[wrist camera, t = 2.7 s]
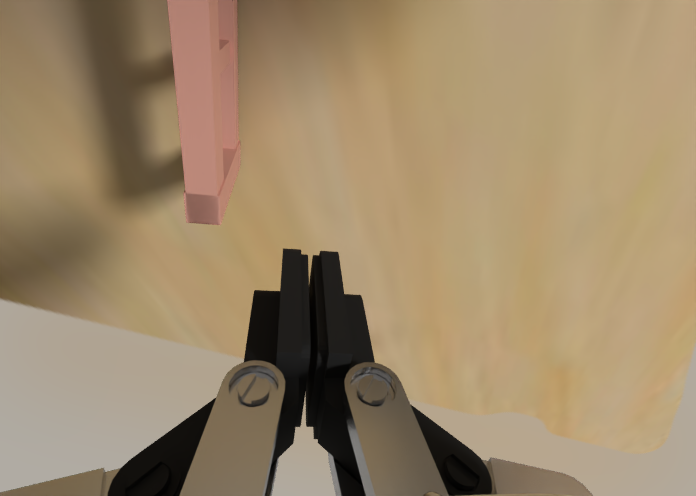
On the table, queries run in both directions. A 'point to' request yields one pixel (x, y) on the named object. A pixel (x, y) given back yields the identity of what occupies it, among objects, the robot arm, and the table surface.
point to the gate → (206, 102)
